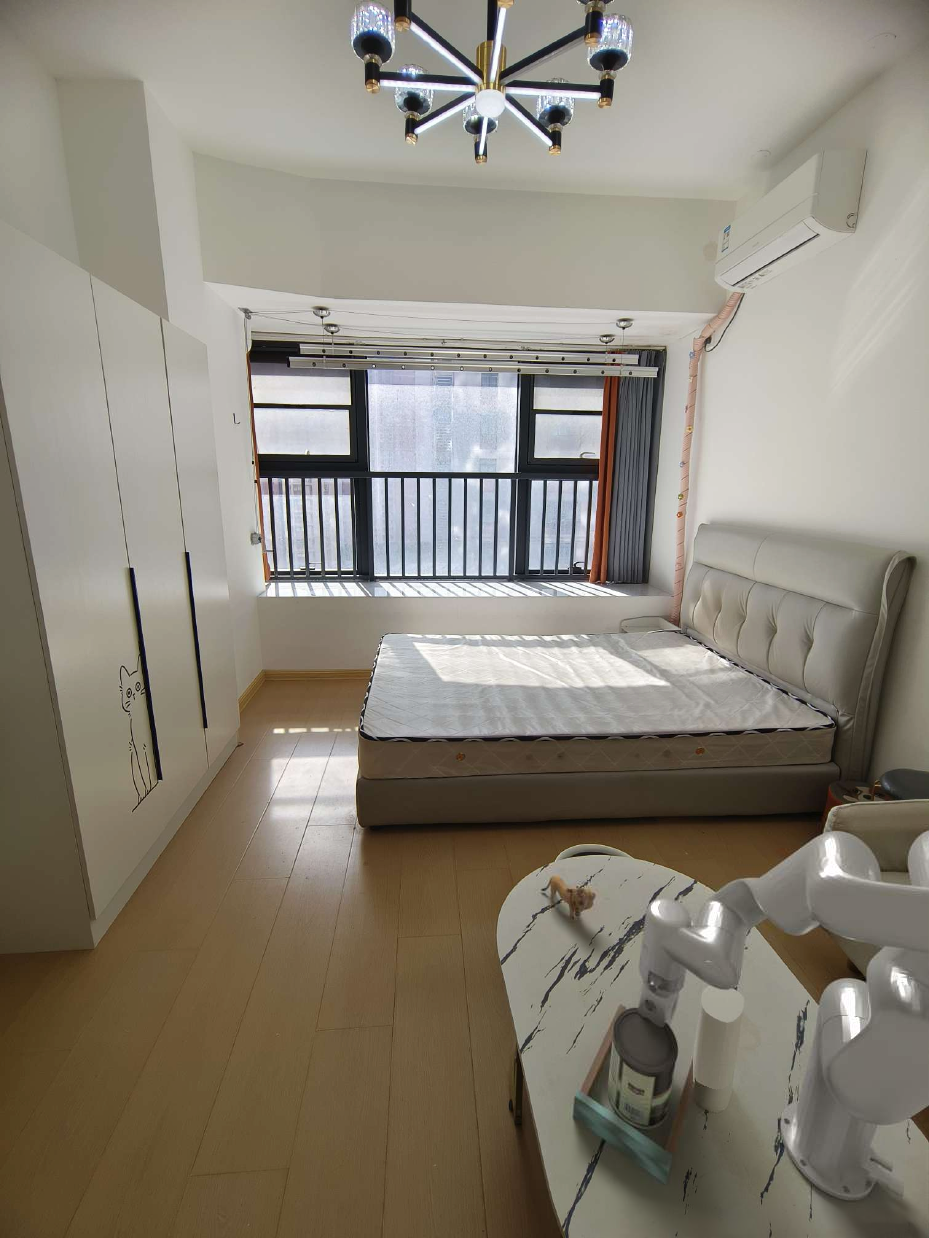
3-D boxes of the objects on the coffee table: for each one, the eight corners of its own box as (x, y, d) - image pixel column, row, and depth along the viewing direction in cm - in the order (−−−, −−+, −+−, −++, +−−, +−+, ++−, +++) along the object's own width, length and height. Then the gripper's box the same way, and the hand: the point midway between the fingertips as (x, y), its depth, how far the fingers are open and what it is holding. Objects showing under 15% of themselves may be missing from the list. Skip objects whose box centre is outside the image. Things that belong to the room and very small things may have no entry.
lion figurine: (597, 918, 131) (599, 887, 128) (585, 931, 127) (587, 900, 124) (546, 885, 140) (548, 856, 138) (534, 897, 137) (535, 867, 134)
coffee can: (658, 1061, 99) (666, 1007, 94) (677, 1130, 90) (687, 1074, 85) (601, 1060, 100) (606, 1005, 95) (614, 1128, 90) (620, 1072, 85)
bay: (700, 1063, 99) (704, 1043, 98) (666, 1184, 83) (669, 1162, 82) (618, 1015, 108) (620, 995, 107) (572, 1116, 92) (574, 1095, 90)
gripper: (671, 1014, 87) (658, 1094, 92) (696, 948, 98) (683, 1023, 104) (625, 987, 91) (615, 1066, 96) (654, 927, 102) (644, 1000, 108)
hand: (650, 1043), depth 100 cm, fingers closed
